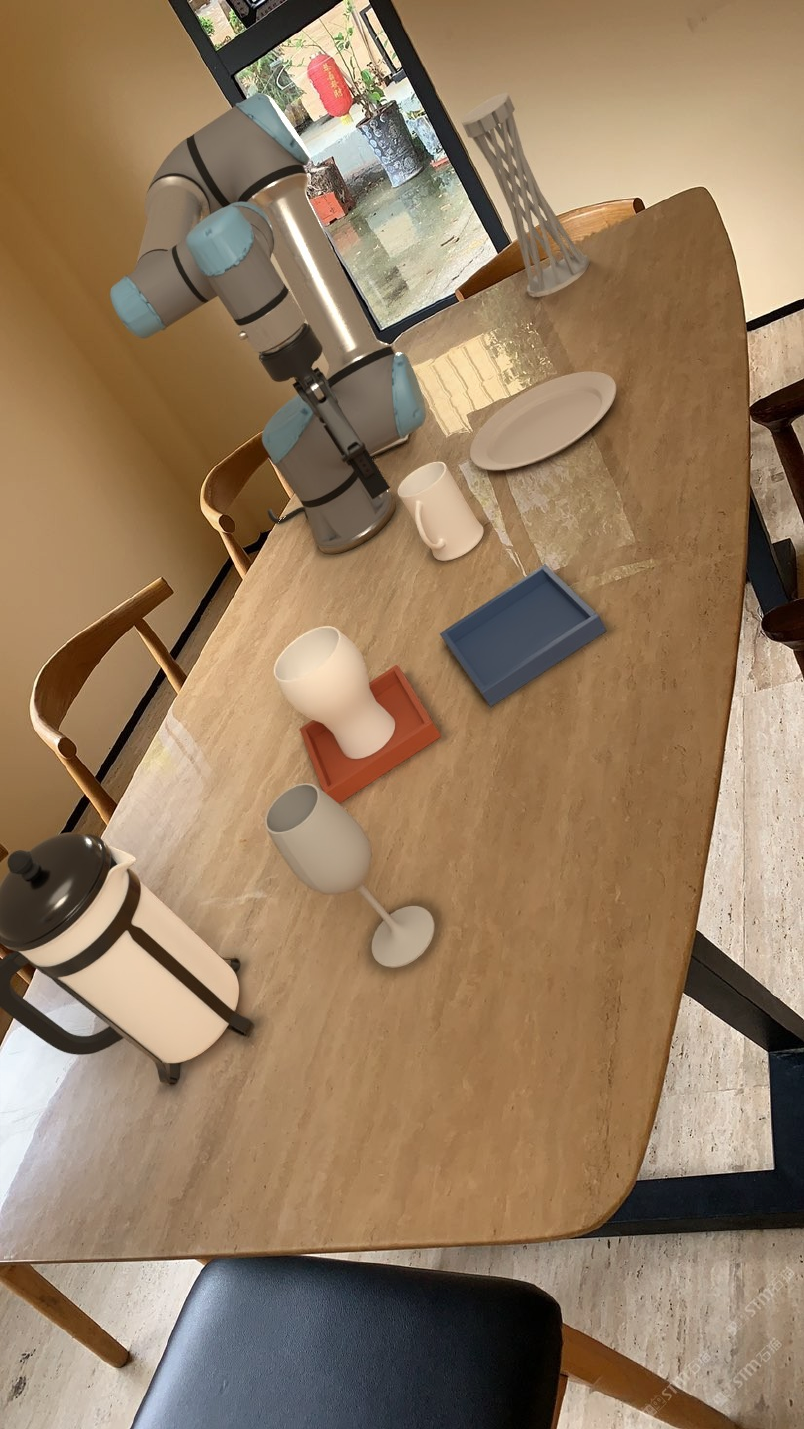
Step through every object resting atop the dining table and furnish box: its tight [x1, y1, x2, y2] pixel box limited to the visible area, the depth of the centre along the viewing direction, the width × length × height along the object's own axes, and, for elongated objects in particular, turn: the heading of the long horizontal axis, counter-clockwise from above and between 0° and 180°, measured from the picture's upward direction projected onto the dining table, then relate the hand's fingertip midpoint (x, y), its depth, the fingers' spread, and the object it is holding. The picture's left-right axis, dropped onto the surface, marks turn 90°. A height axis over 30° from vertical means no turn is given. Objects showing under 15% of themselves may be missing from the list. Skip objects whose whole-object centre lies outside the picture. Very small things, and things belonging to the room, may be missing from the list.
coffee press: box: [0, 831, 255, 1086], centre depth 103 cm, size 17×16×30 cm
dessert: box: [370, 433, 410, 458], centre depth 198 cm, size 12×12×5 cm
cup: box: [272, 625, 395, 759], centre depth 128 cm, size 11×11×15 cm
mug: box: [396, 461, 485, 562], centre depth 153 cm, size 12×8×12 cm
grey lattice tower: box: [461, 92, 591, 298], centre depth 204 cm, size 14×13×35 cm
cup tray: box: [299, 664, 442, 805], centre depth 132 cm, size 16×16×2 cm
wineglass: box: [264, 782, 436, 969], centre depth 100 cm, size 8×8×21 cm
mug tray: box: [439, 563, 607, 708], centre depth 131 cm, size 17×17×2 cm
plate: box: [469, 371, 617, 471], centre depth 169 cm, size 26×26×2 cm
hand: (368, 475), depth 140 cm, fingers open, 13 cm apart
